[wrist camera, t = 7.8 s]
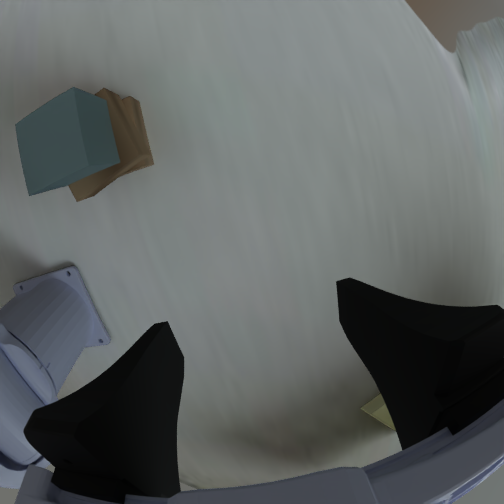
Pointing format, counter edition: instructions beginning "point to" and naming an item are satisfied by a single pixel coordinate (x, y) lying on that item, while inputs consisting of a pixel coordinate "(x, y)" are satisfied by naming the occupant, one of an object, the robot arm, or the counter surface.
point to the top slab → (127, 147)
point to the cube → (66, 141)
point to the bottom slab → (137, 118)
